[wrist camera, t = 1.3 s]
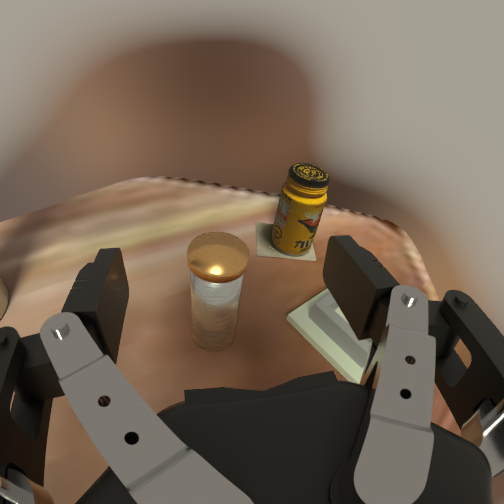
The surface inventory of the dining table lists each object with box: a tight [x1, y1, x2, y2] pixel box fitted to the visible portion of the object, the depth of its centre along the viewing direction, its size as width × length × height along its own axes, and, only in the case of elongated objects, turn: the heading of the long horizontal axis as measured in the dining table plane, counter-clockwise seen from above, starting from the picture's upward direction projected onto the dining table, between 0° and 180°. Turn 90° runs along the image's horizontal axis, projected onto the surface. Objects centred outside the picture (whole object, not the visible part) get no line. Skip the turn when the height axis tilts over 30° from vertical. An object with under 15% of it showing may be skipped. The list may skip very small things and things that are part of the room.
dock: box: [286, 288, 372, 384], centre depth 33 cm, size 12×12×4 cm
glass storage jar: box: [188, 232, 249, 352], centre depth 28 cm, size 5×5×12 cm
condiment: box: [256, 163, 329, 261], centre depth 41 cm, size 7×8×12 cm
